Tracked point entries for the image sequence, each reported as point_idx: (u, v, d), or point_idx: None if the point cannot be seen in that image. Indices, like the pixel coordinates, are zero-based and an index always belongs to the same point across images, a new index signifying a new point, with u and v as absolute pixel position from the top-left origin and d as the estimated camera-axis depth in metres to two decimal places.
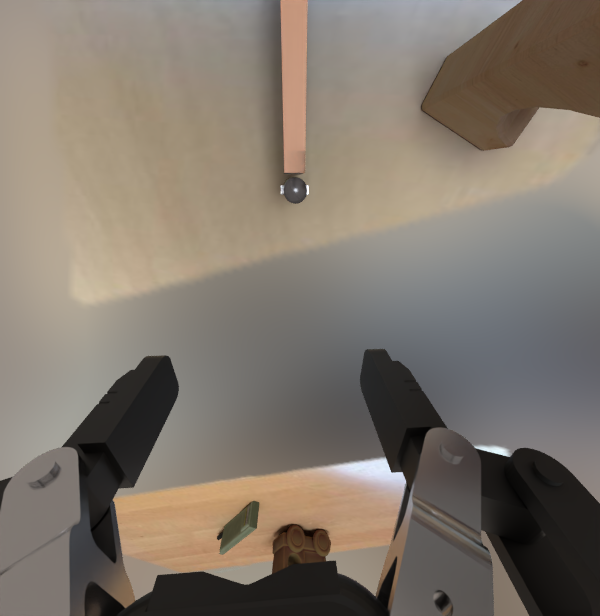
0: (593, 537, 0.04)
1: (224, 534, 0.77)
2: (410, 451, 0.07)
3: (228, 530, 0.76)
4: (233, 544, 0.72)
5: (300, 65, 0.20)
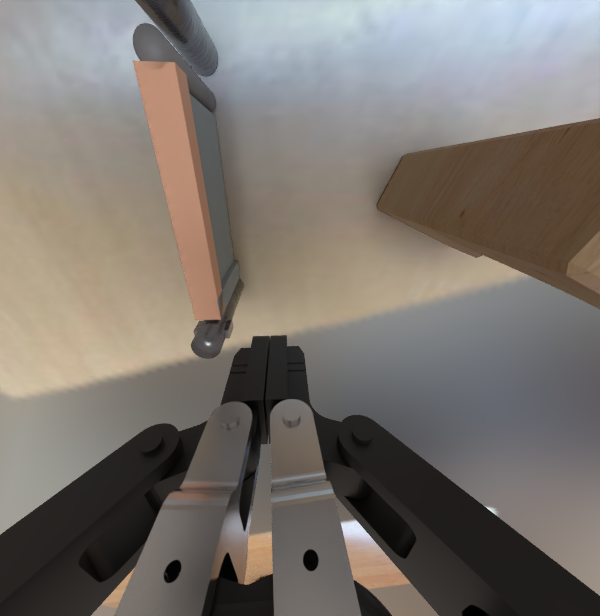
0: (398, 472, 0.05)
1: None
2: None
3: None
4: None
5: (195, 218, 0.15)
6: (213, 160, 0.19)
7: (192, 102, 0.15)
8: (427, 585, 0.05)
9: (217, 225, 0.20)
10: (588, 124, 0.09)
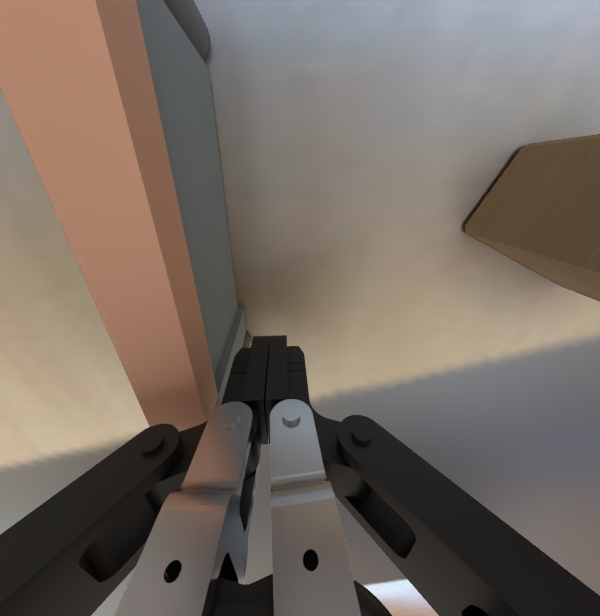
0: (398, 472, 0.05)
1: None
2: None
3: None
4: None
5: (150, 285, 0.06)
6: (204, 148, 0.10)
7: None
8: (427, 585, 0.05)
9: (210, 269, 0.11)
10: None
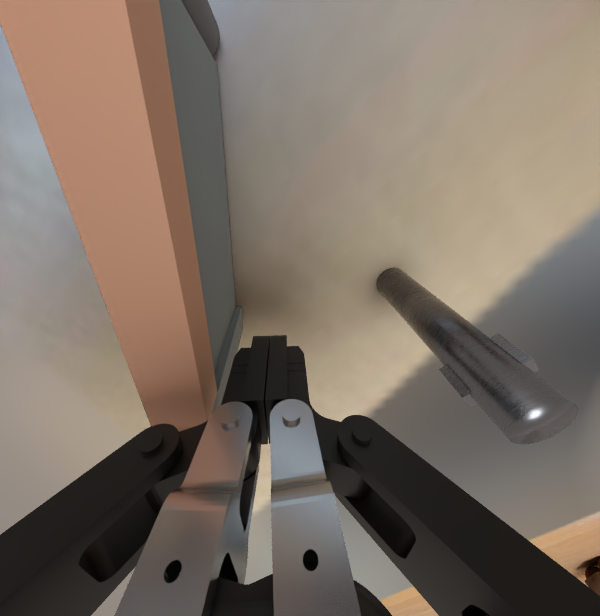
0: (398, 472, 0.05)
1: None
2: None
3: None
4: None
5: (160, 282, 0.06)
6: (210, 145, 0.10)
7: None
8: (427, 585, 0.05)
9: (213, 266, 0.11)
10: None
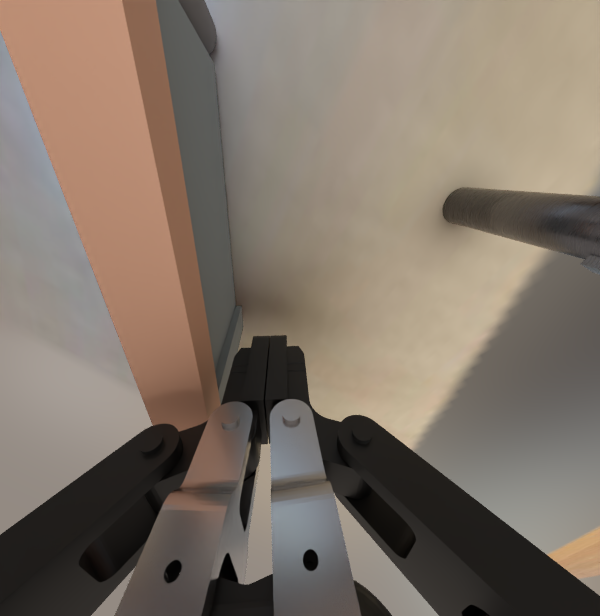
0: (398, 472, 0.05)
1: None
2: None
3: None
4: None
5: (160, 280, 0.06)
6: (208, 144, 0.10)
7: None
8: (427, 585, 0.05)
9: (212, 265, 0.11)
10: None
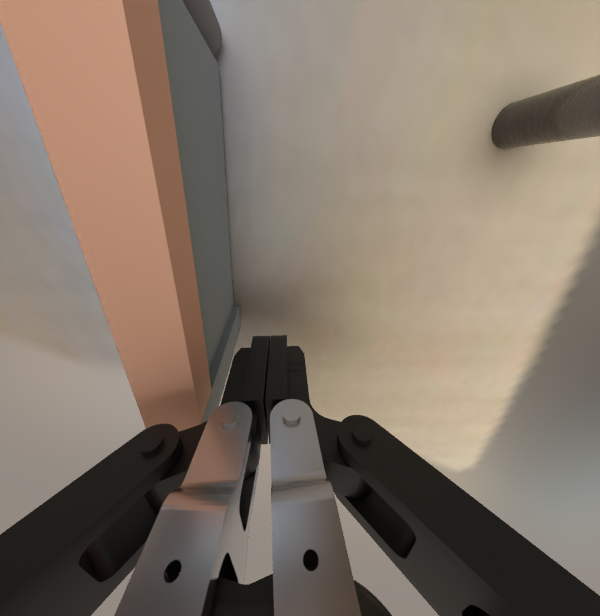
0: (398, 472, 0.05)
1: None
2: None
3: None
4: None
5: (154, 276, 0.06)
6: (210, 144, 0.10)
7: None
8: (427, 585, 0.05)
9: (210, 264, 0.11)
10: None
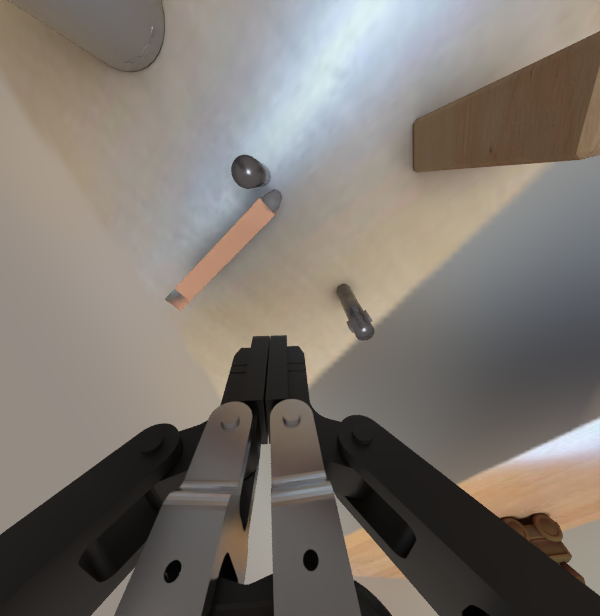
0: (398, 472, 0.05)
1: None
2: None
3: None
4: None
5: (220, 263, 0.25)
6: None
7: None
8: (427, 585, 0.05)
9: None
10: (542, 65, 0.14)
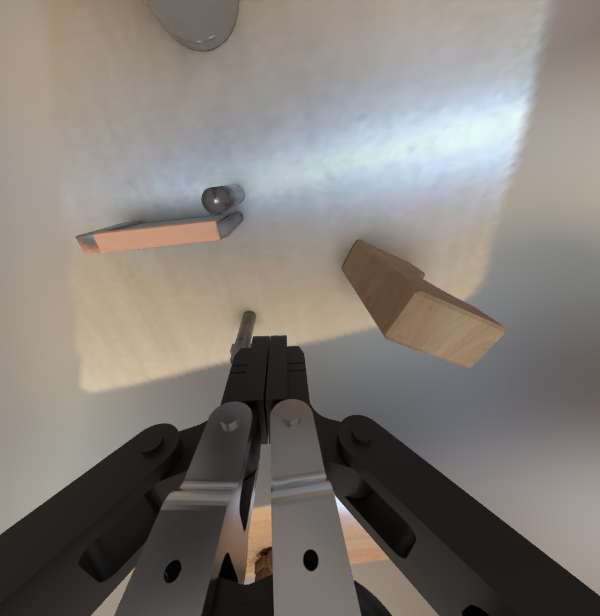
0: (398, 472, 0.05)
1: None
2: None
3: None
4: None
5: (152, 242, 0.26)
6: None
7: None
8: (427, 585, 0.05)
9: None
10: (399, 278, 0.24)
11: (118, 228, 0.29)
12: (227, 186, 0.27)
